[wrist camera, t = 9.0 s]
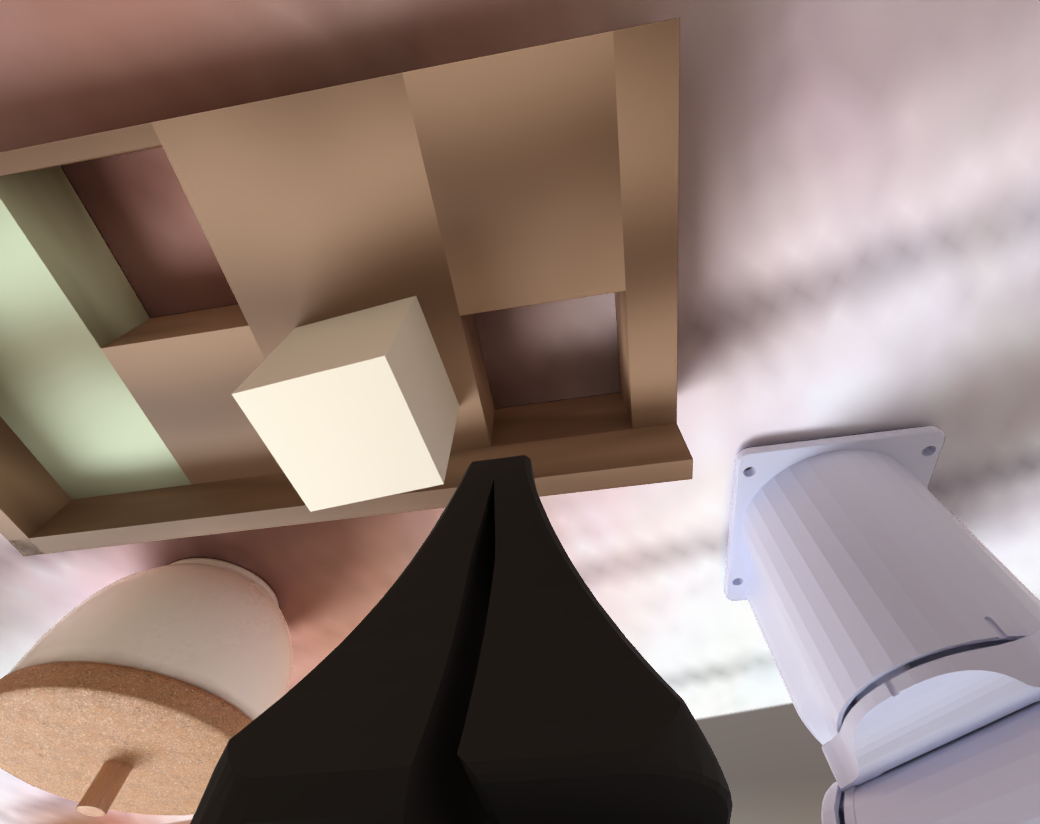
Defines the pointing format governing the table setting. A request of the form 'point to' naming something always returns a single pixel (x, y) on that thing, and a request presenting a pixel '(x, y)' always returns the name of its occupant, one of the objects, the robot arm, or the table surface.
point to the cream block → (355, 406)
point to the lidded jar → (145, 688)
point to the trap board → (345, 285)
